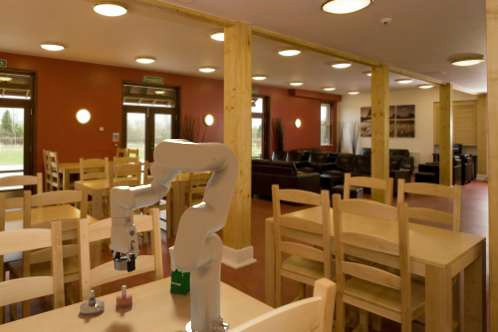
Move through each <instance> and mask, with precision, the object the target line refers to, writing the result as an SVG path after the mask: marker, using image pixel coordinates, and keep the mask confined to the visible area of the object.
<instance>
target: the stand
mask: <svg viewBox="0 0 498 332" xmlns="http://www.w3.org/2000/svg"><path fill="white" fill-rule="evenodd" d="M115 302H116V303H115V307H116V308H117V309H127V308H130V307H132V305H133V294H131V293H127V285H122V286H121V294H119V295H117V296H116V297H115Z"/></svg>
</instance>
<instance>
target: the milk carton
mask: <svg viewBox="0 0 498 332" xmlns="http://www.w3.org/2000/svg"><path fill="white" fill-rule="evenodd" d="M173 248H174V245H172V246H171V247H169V248H168V252H169V256H170V278H171V279H170V287H169V288H170V289H169V292H170V293H171V294H172V293H173V294H177V295H180V296H186V295H188V294H190V274H191V272H183V271H180V270H179V269H178V268H177V267H176V265H175V263H174V260H173Z"/></svg>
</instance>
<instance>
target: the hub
mask: <svg viewBox="0 0 498 332" xmlns="http://www.w3.org/2000/svg"><path fill="white" fill-rule="evenodd" d="M88 291H89V295H88V296H89V299H88V300H87V301H85V302H82V303H81V304H80V306H79V313H80V315H82V316H87V317H88V316H95V315H98V314H100V313H102V312H104V310H105V301H104V300H102V299H97V298H96V297H95V290H94V289H91V290H88Z"/></svg>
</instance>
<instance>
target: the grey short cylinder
mask: <svg viewBox="0 0 498 332" xmlns="http://www.w3.org/2000/svg"><path fill="white" fill-rule="evenodd" d="M127 261H128V259H127V256H122V257H120V258H117V259H115V268H114V270H116V271H119V272H120V271H121V272H122V271H127Z"/></svg>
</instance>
